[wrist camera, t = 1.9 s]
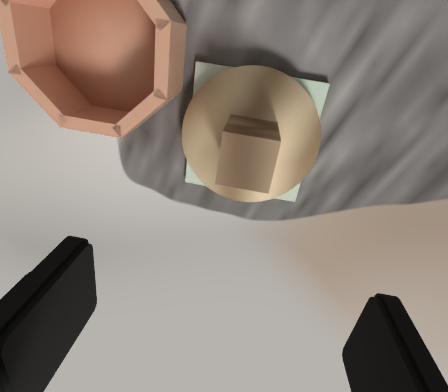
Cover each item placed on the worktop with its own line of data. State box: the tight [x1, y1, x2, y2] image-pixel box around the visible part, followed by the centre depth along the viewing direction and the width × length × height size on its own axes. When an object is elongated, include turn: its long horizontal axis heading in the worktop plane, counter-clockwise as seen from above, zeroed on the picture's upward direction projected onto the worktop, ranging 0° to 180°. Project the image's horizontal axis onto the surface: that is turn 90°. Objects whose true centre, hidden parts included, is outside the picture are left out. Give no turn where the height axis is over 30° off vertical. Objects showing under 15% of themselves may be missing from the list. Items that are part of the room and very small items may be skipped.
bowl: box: [0, 0, 187, 138], centre depth 23 cm, size 12×12×5 cm
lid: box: [182, 65, 321, 202], centre depth 23 cm, size 12×12×6 cm
